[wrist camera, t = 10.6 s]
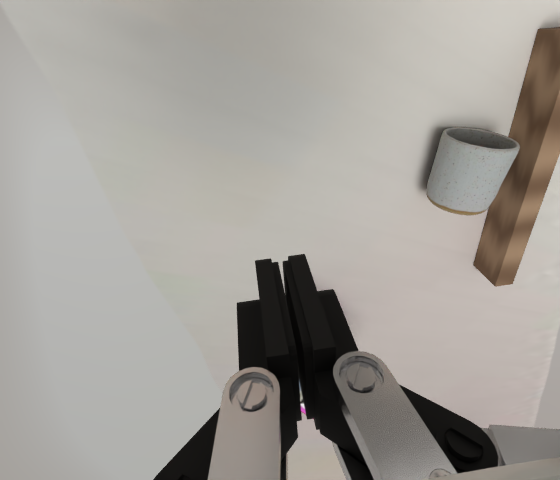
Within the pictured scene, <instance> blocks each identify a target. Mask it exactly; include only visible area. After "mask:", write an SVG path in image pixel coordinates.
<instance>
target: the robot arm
mask: <svg viewBox="0 0 560 480" xmlns="http://www.w3.org/2000/svg"><path fill="white" fill-rule="evenodd" d="M255 265H256V273H257V281H258V290H259V298H260V300H253V301H246V302H239V303H237V324H238V352H239V371H238V372H237V373H235V374H234V375H233V376H232V377H230V379H229V380H228V382H227V383H226V385H225V388H224V390H223V395H222V401H221V406H220V408H219V410H218V411H217V412H216V413H215V414H214V415H213V416H212V417H211V418H210V419H209V420H208V421H207V422H206V424H204V425H203V426H202V428H201V429H200V430H199V431H198V432H197V433H196V434H195V435H194V436H193V437H192V438H191V439H190V440H189V442H188V443H187V444H186V445H185V446H184V447H183V448H182V449H181V450H180V451H179V452H178V453H177V454H176V455H175V456H174V457H173V459H172V460H171V461H170V462H169V463H168V464H167V465H166V466H165V467H164V468H163V469H162V470H161V471H160V472H159V473H158V475H157V476H156V477H155V478H154V480H288V455H287V452H288V451H289V449H290V448H291V446H292V445H293V444H294V442H295V441H296V439H297V438H298V432H297V421H300V420H302V417H301V402H300V388H299V382H300V387H301V392H302V397H303V402H304V407H305V412H306V416H307V419H312V418H314V422H315V426H316V430H318V429H320V433H321V434H322V435H324V436H325V437H326V438H328V439H329V440H331V441H332V443H333V447H334V450H335V453H336V455H337V458H338V460H339V463H340V465H341V468H342V470H343V473H344V475H345V477H346V480H560V429H546V428H531V427H516V426H501V425H490V426H489V428H488V429H487V428H480V427H478V426H477V425H475V424H474V423H472V422H471V421H469V420H467V419H465V418H463V417H461V416H459V415H457V414H455V413H453V412H451V411H449V410H447V409H445V408H444V407H442V406H440V405H438V404H436V403H434V402H432V401H430V400H428V399H426V398H424V397H422V396H420V395H418V394H416V393H414V392H413V391H411V390H409V389H407V388H405V387H403V386H401V385H399V384H398V383H397V381H396V379H395V378H394V376H393V375H392V373H391V372H390V370H389V369H388V367H387V366H386V365H385V364H384V362H383V361H382V360H381V359H379V358H378V357H376V356H375V355H373V354H370V353H367V352H361V351H358V348H357V346H356V343H355V341H354V338H353V336H352V333H351V331H350V328H349V326H348V323H347V321H346V318H345V316H344V313H343V311H342V308H341V306H340V303H339V301H338V298H337V296H336V294H335V292H334V290H333V289H331V290H324V291H317V289H316V286H315V283H314V280H313V277H312V274H311V271H310V268H309V265H308V262H307V259H306V256H305V254H301V255H294V256H288V261H283V273H284V285H285V293H284V288H283V283H282V279H281V274H280V269H279V265H278V262H274V263H272V261H271V259H264V260H256V261H255ZM285 297H286V298H285Z"/></svg>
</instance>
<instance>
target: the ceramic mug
mask: <svg viewBox="0 0 560 480" xmlns="http://www.w3.org/2000/svg"><path fill="white" fill-rule="evenodd" d="M519 149H520V145H519V143H518V142H516V141H515V140H513V139H511V138H509V137H506V136H504V135H500V134H497V133H494V132H490V131H485V130H481V129H474V128H465V127H454V128H448V129H445V130H444V131H443V133H442V136H441V139H440V143H439V146H438V150H437V153H436V157H435V160H434V163H433V167H432V170H431V173H430V176H429V180H428V183H427V197H428V199H429V200H430V201H431V202H432V203H433V204H434V205H435V206H437V207H439V208H441V209H443V210H445V211H448V212H451V213H455V214H460V215H476V214H480V213H482V212H484V211H486V210H487V208H488V207H489V206H490V204H491V203H492V202H493V200H494V199H495V197H496V195H497V193H498V191H499V188H500V186H501V184H502V182H503V180H504V178H505V177H506V175H507V173H508V171H509V169H510V167H511V165H512V163H513V161H514V159H515V158H516V156H517V154H518V151H519Z"/></svg>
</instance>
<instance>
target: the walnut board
mask: <svg viewBox="0 0 560 480" xmlns="http://www.w3.org/2000/svg"><path fill="white" fill-rule="evenodd" d="M509 138H511V139H513V140H515V141H516V142H518V143H519V145H520V149H519V151H518V154H517V156H516V158H515V159H514V161H513V163H512V165H511V167H510V169H509V171H508V173H507V175H506V177H505V178H504V180H503V182H502V184H501V186H500V188H499V191H498V193H497V195H496V197H495V199H494V200H493V202H492V203H491V204H490V206H489V210H488V214H487V217H486V221H485V225H484V228H483V232H482V236H481V239H480V243H479V246H478V250H477V254H476V257H475V261H474V266H475V267H476V268H477V269H478V270H479V271H480V272H481V273H482V274H483V275H484V276H485V277H486V278H487V279H488V280H489V281H490V282H491V283H492V284H493V285H494V286H502V285H509V284H513V281H514V278H515V276H516V273H517V270H518V267H519V265H520V262H521V259H522V256H523V253H524V251H525V248H526V245H527V242H528V240H529V237H530V234H531V231H532V229H533V226H534V223H535V220H536V217H537V215H538V212H539V209H540V206H541V204H542V201H543V198H544V195H545V193H546V190H547V187H548V184H549V181H550V179H551V176H552V173H553V170H554V168H555V165H556V162H557V159H558V157H559V154H560V27H556V28H545V29H538V32H537V35H536V39H535V43H534V46H533V50H532V53H531V57H530V61H529V64H528V68H527V72H526V75H525V79H524V83H523V86H522V90H521V94H520V97H519V101H518V104H517V108H516V112H515V115H514V119H513V123H512V126H511V130H510V134H509Z"/></svg>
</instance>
